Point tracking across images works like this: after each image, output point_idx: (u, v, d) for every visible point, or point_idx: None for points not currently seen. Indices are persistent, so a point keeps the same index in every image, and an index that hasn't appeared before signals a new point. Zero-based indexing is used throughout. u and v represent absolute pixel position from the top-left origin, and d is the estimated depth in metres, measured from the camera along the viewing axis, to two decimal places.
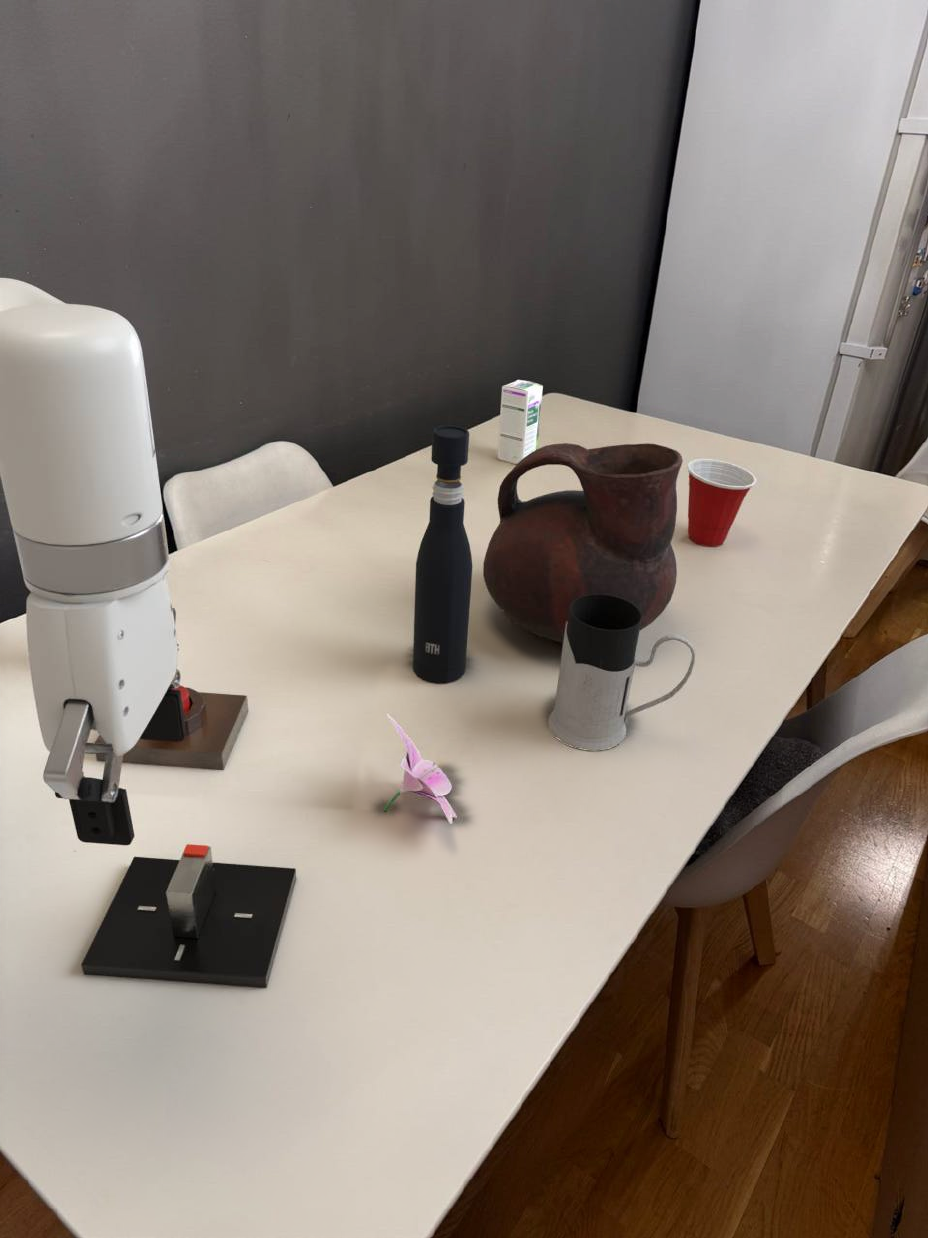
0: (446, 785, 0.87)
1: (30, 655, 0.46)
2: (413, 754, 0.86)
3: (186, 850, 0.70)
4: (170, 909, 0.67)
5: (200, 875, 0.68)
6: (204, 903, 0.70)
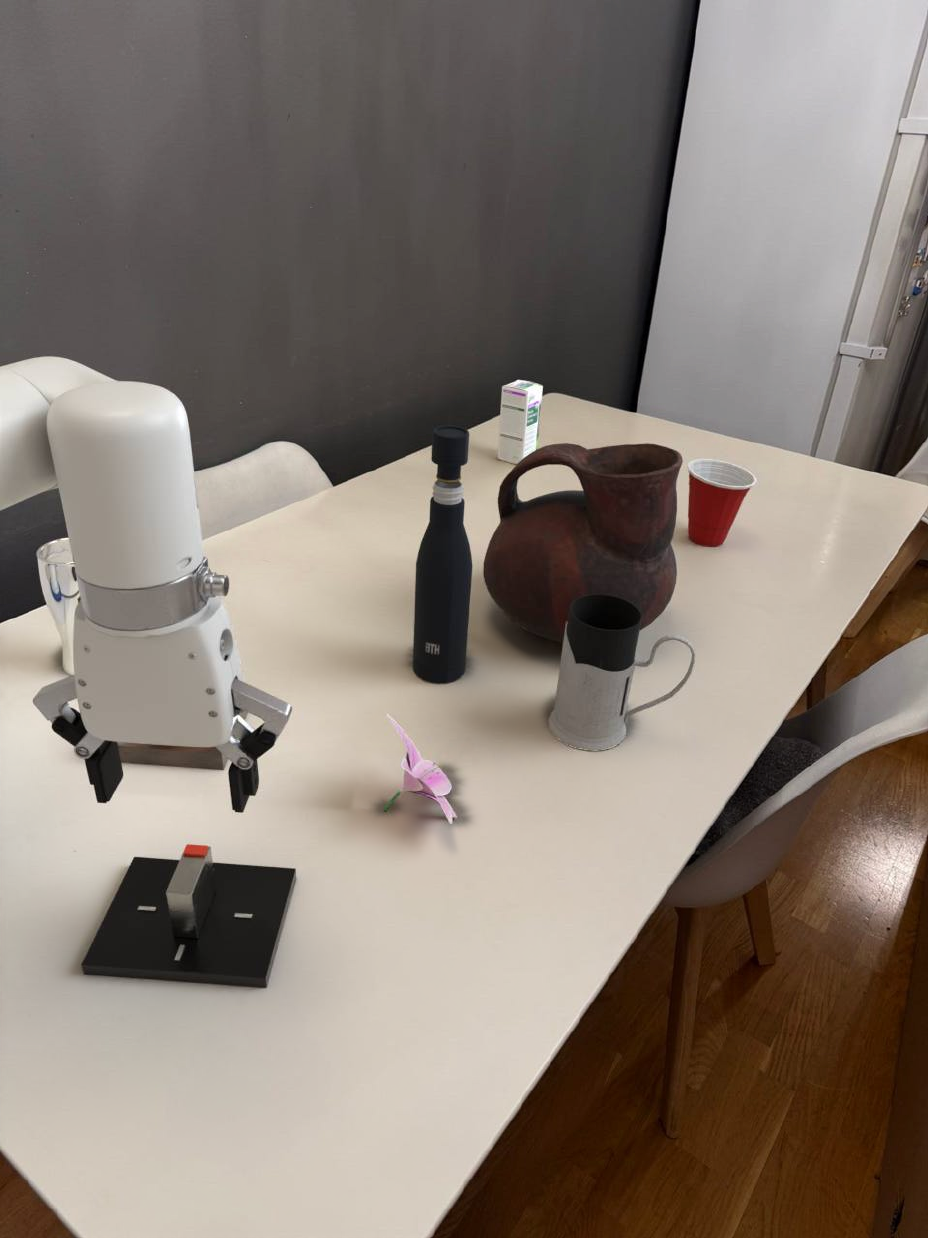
0: (446, 785, 0.87)
1: None
2: (413, 754, 0.86)
3: (186, 850, 0.70)
4: (170, 909, 0.67)
5: (200, 875, 0.68)
6: (204, 903, 0.70)
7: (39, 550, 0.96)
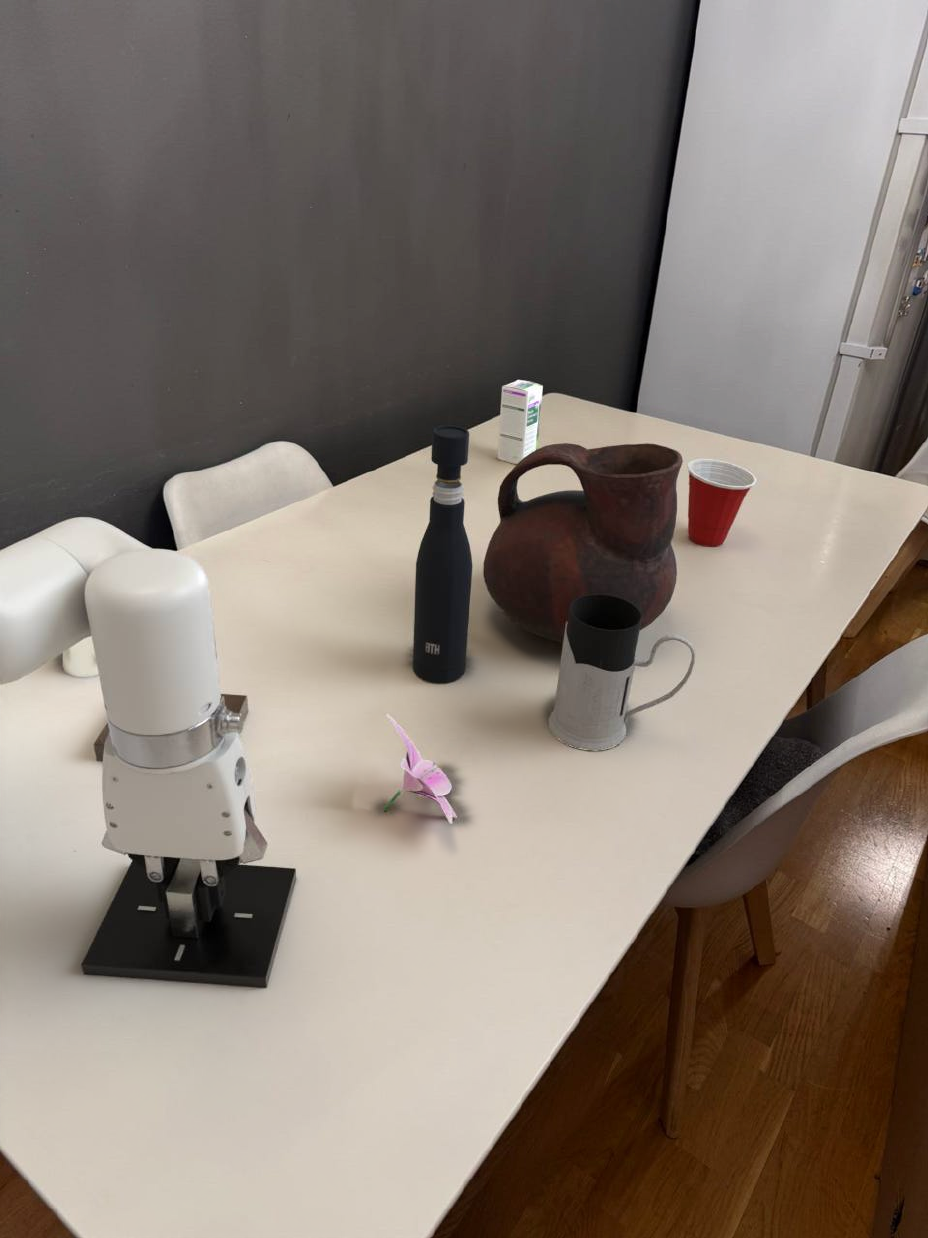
0: (446, 785, 0.87)
1: None
2: (413, 754, 0.86)
3: None
4: (170, 909, 0.67)
5: (200, 875, 0.68)
6: None
7: None
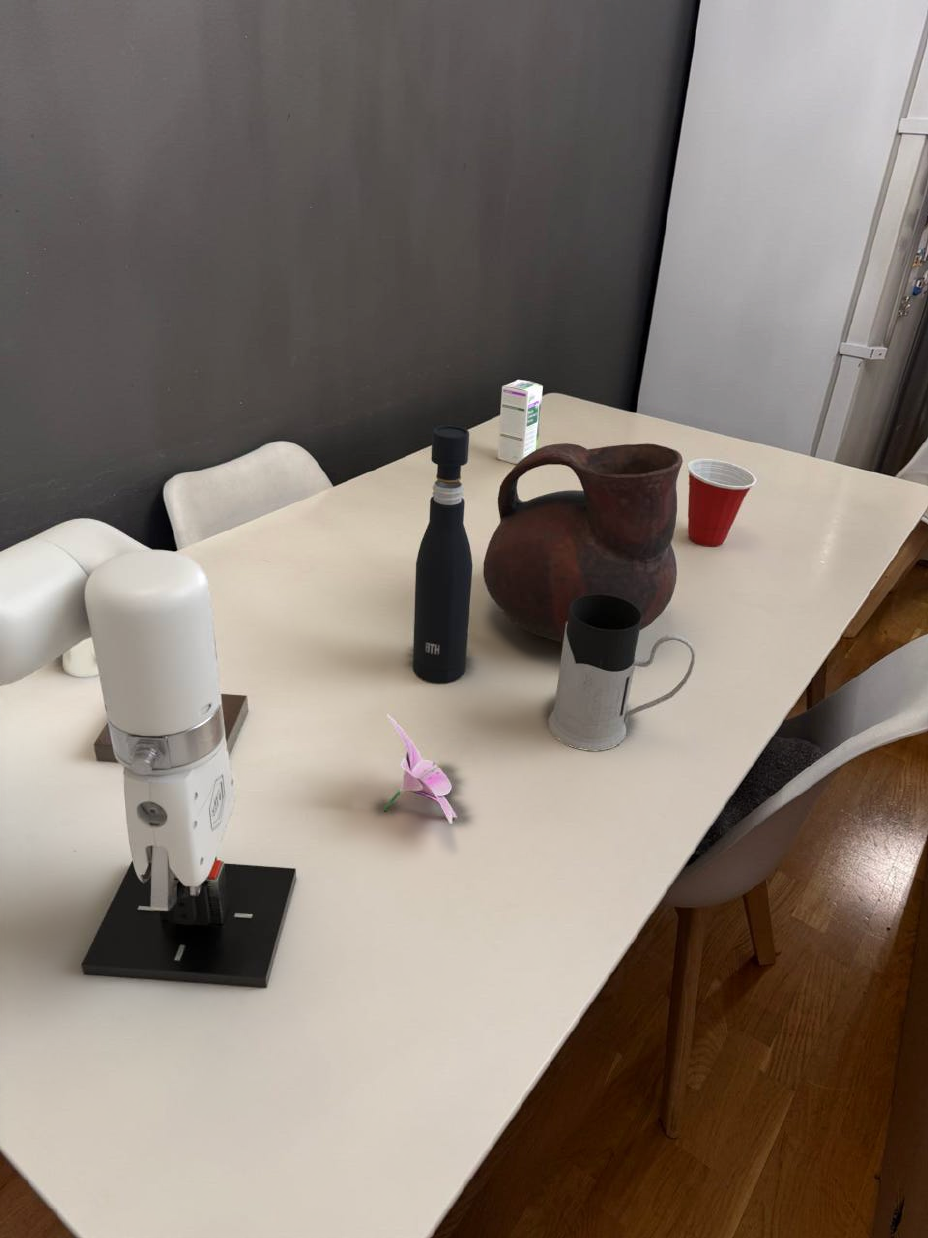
0: (446, 785, 0.87)
1: None
2: (413, 754, 0.86)
3: None
4: None
5: None
6: None
7: None
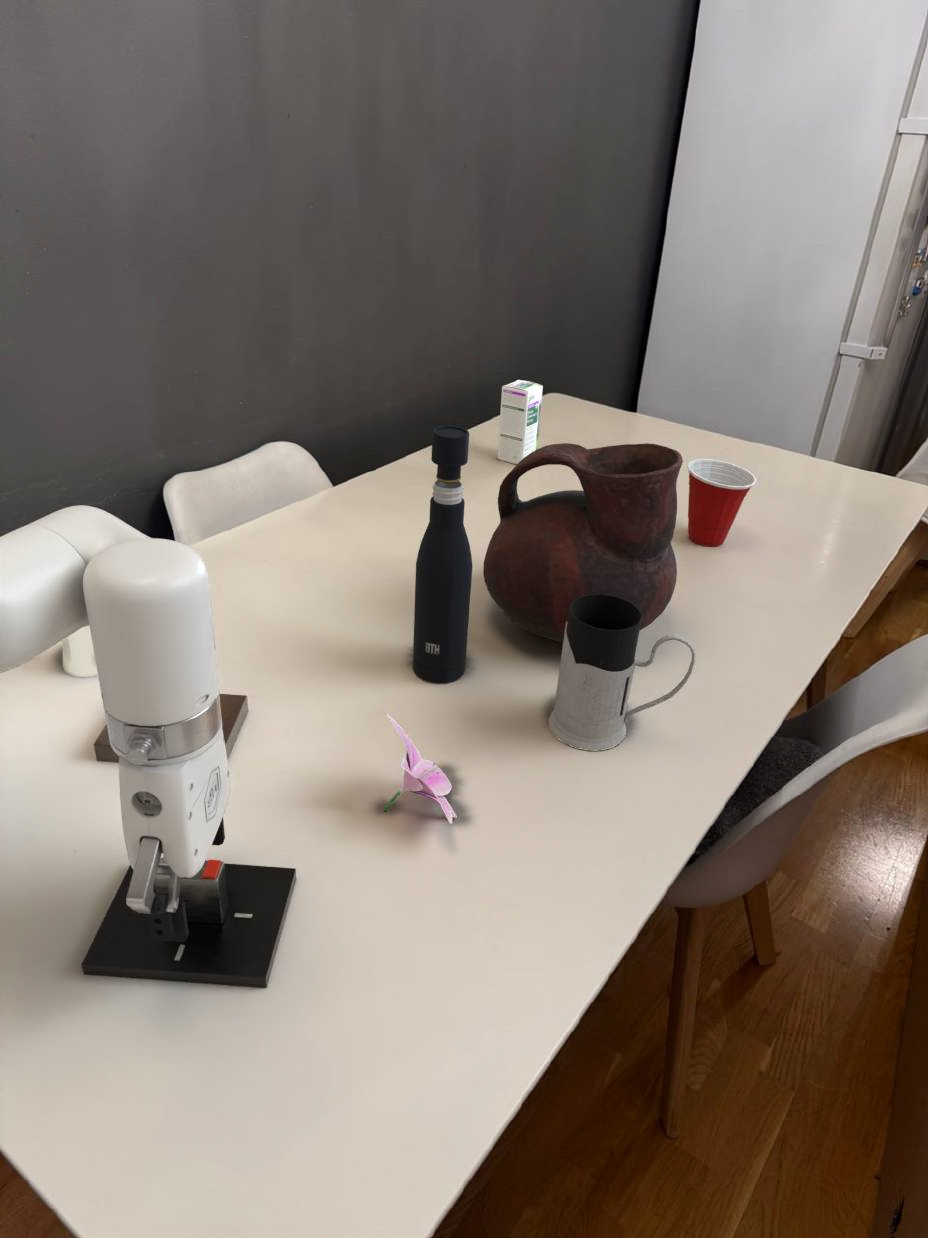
0: (446, 785, 0.87)
1: None
2: (413, 754, 0.86)
3: (211, 861, 0.69)
4: None
5: None
6: None
7: None
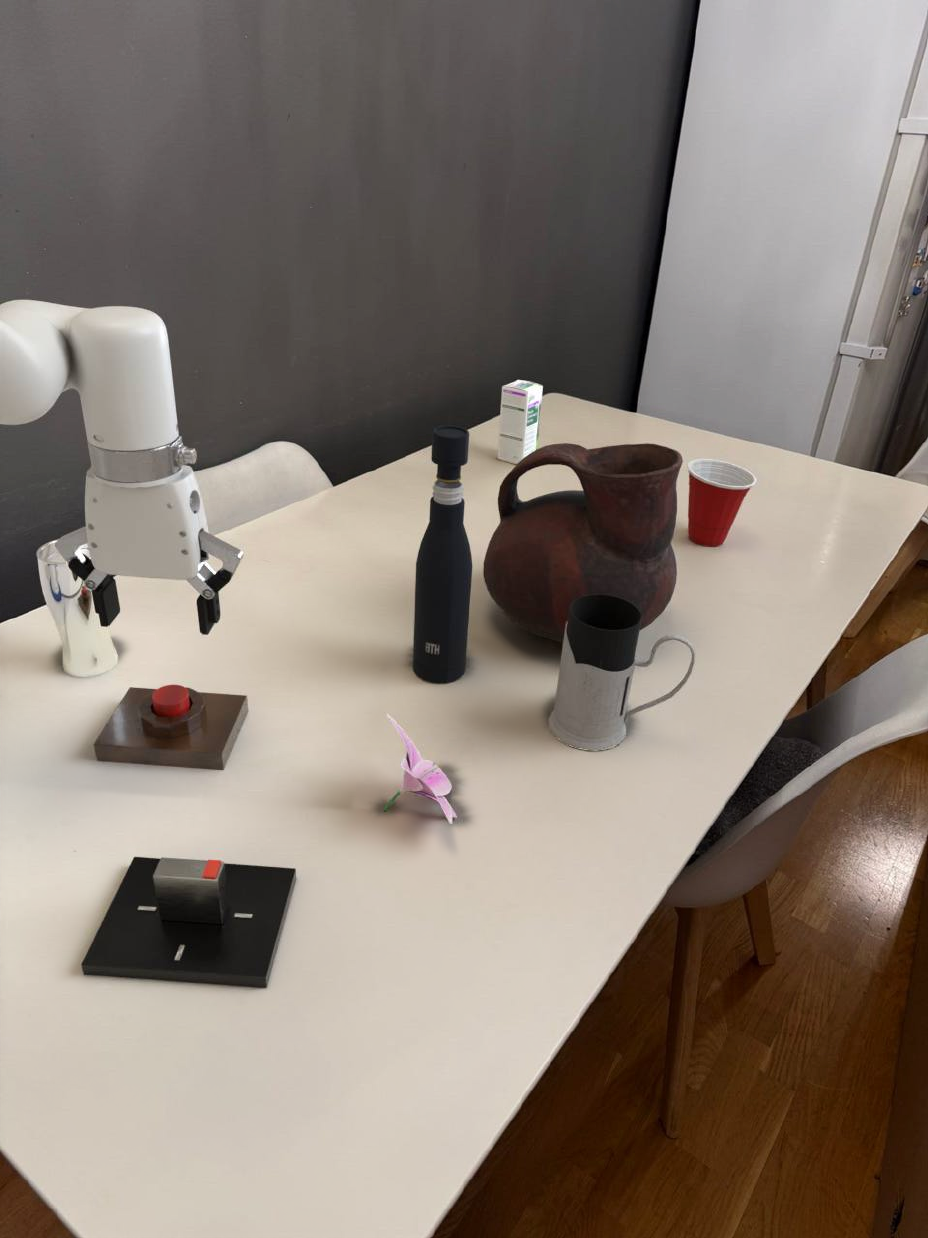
0: (446, 785, 0.87)
1: None
2: (413, 754, 0.86)
3: (211, 861, 0.69)
4: None
5: (180, 880, 0.68)
6: (183, 907, 0.69)
7: (39, 550, 0.96)
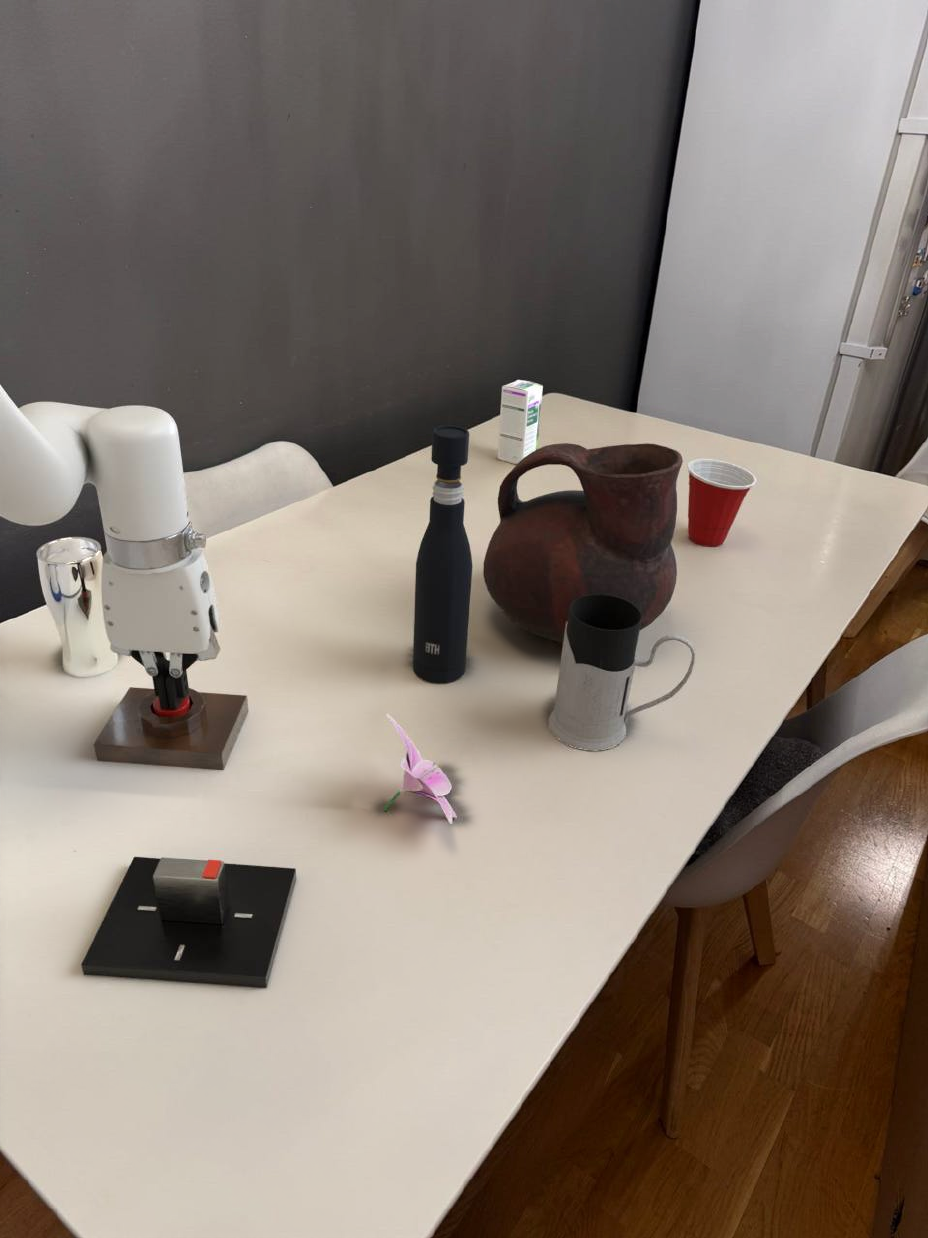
0: (446, 785, 0.87)
1: None
2: (413, 754, 0.86)
3: (211, 861, 0.69)
4: None
5: (180, 880, 0.68)
6: (183, 907, 0.69)
7: (39, 550, 0.96)
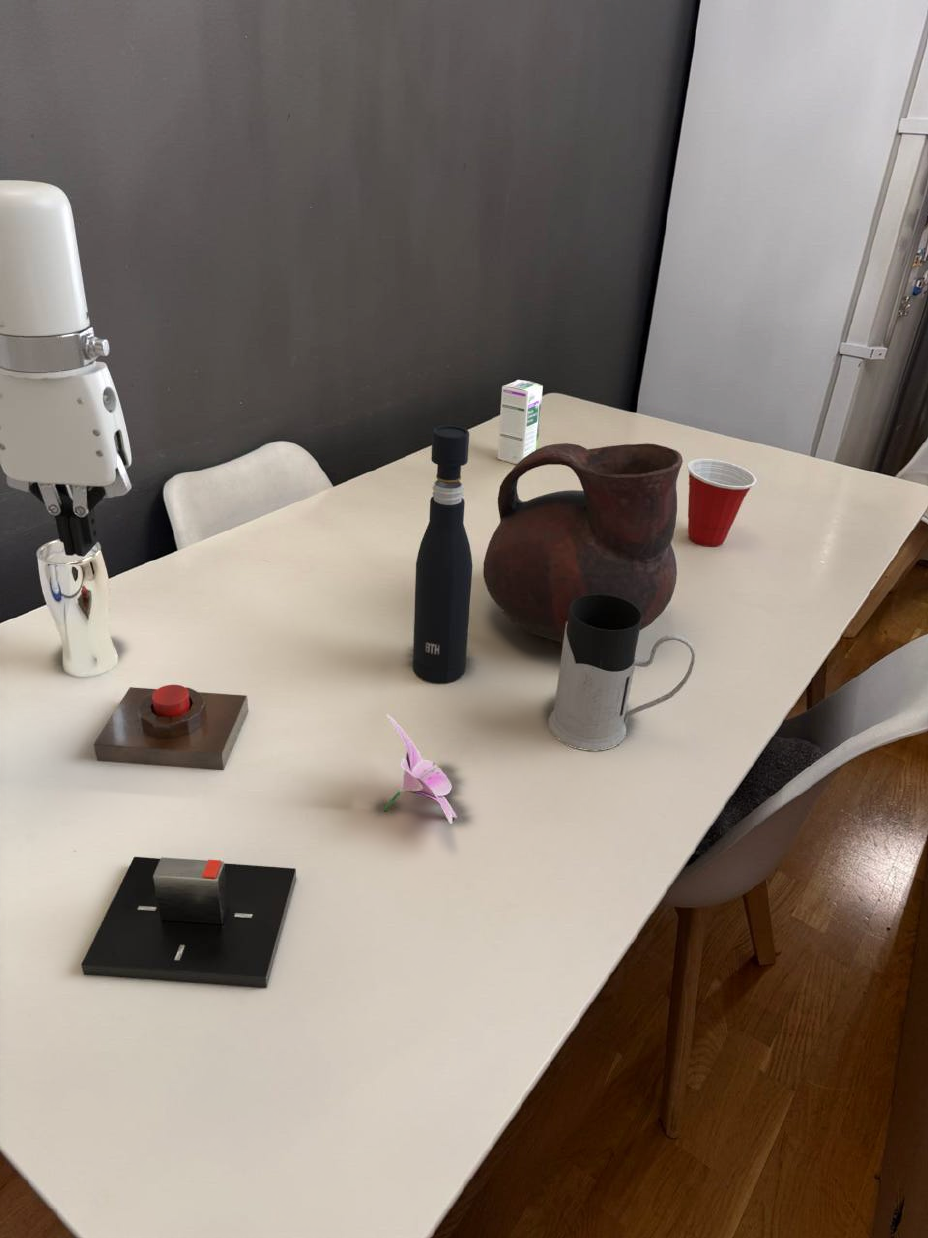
0: (446, 785, 0.87)
1: None
2: (413, 754, 0.86)
3: (211, 861, 0.69)
4: None
5: (180, 880, 0.68)
6: (183, 907, 0.69)
7: (39, 550, 0.96)
